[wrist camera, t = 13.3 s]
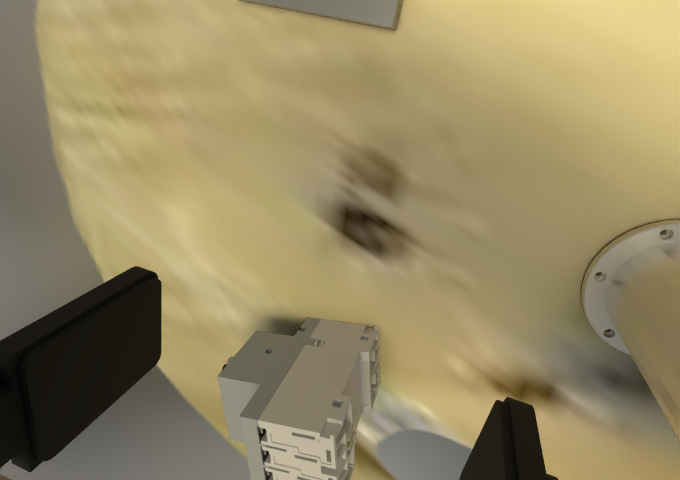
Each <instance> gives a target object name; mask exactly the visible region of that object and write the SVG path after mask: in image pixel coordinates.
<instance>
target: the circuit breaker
mask: <svg viewBox="0 0 680 480" xmlns="http://www.w3.org/2000/svg"><path fill="white" fill-rule="evenodd" d="M217 377H218V382H219V387H220V392H221V397H222V402H223V408H224V413H225V418H226V423H227V428H228V433H229V438H230V440H233V441H238V442H242V443H244V444H245V449H246V455H247V461H248V466H249V472H250V478H251V480H350V479H351V476H352V473H353V469H354V466H355V448H354V447H355V444H356V428H357V425H358V422H359V419H360V416H361V413H362V411H363V412H364V413H371V410H372V407H373V404H374V401H375V397H376V394H377V388H378V385H379V384H380V366H379V326H375V327H374V329H373V328H367V325H365V324H357V323H349V322H340V321H332V320H324V319H316V318H306V320H305V321H304V323H303V324H302V326H301V331H299V330H298V331H297V333H296V334H295V336H289V335H282V334H274V333H267V332H259V331H256V332H255V333H254V334H253V335H252V336H251V338H250V339H249V340H248V341H247V342H246V343H245V345H244V346H243V347H242V348H241V349H240V350H239V351H238V353H237V354H236V355H235V356H234V357H230V358H229V359H228V360H227V364H225V365H224V366H223V369H222V371H221V373H220V374H219V375H218V376H217Z"/></svg>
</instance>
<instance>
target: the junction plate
mask: <svg viewBox="0 0 680 480" xmlns="http://www.w3.org/2000/svg"><path fill="white" fill-rule="evenodd" d="M240 1H245V2H250V3H255V4H261V5H266V6H271V7H276V8H281V9H287V10H292V11H297V12H302V13H307V14H313V15H318V16H323V17H328V18H334V19H339V20H344V21H349V22H354V23H360V24H365V25H370V26H375V27H380V28H386V29H391V30H396V29H397V25H398V20H399V15H400V11H401V6H402V2H403V0H240Z"/></svg>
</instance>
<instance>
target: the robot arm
mask: <svg viewBox="0 0 680 480" xmlns="http://www.w3.org/2000/svg"><path fill="white" fill-rule="evenodd" d="M663 230H665V232H664V233H661V234H660V232H661V231H663ZM598 272H601V273H600V274H598V275H596V273H598ZM581 299H582V304H583V309H584V312H585V314H586V317H587V319H588V321H589V322H590V324H591V326H592V328H593V329H594V331H595V332H596V333H597V334H598V335H599V336H600V338H601V339H603V340H604V341H605V342H606V343H608V344H609V345H611V346H612V347H613V348H615V349H617V350H619V351H621V352H623V353H625V354H627V355H630V356H632V358H633V360H634V362H635V363H636V365H637V367H638V369H639V370H640V372H641V374H642V376H643V377H644V379H645V381H646V383H647V384H648V386H649V388H650V390H651V391H652V393H653V395H654V397H655V398H656V400H657V402H658V404H659V405H660V407H661V409H662V411H663V412H664V414H665V416H666V418H667V419H668V421H669V423H670V425H671V426H672V428H673V430H674V432H675V433H676V435H677V437H678V439H679V440H680V220H667V221H661V222H656V223H652V224H647V225H644V226H642V227H639V228H636V229H634V230H631V231H629V232H627V233H625V234H624V235H622V236H620V237H618V238H617V239H615V240H614V241H612V242H611V243H610V244H609V245H607V246H606V247H605V248H604V249H602V251H601V252H600V253H599V254H598V255H597V256H596V257H595V259H594V260H593V261H592V263H591V265H590V266H589V268H588V270H587V272H586V274H585V277H584V280H583V283H582V293H581ZM160 356H161V281H160V280H159V279H158V276H157V274H156V273H155V272H152V271H149V270H146V269H144V268H141V267H136V266H135V267H132V268H130V269H129V270H127V271H125V272H123V273H121V274H120V275H118V276H116V277H114V278H112V279H111V280H109V281H107V282H105V283H103V284H102V285H100V286H98V287H96V288H94V289H93V290H91V291H89V292H87V293H86V294H84V295H82V296H80V297H78V298H76V299H75V300H73V301H71V302H69V303H67V304H66V305H64V306H62V307H60V308H58V309H57V310H55V311H53V312H51V313H49V314H48V315H46V316H44V317H42V318H41V319H39V320H37V321H35V322H33V323H31V324H30V325H28V326H26V327H24V328H22V329H21V330H19V331H17V332H15V333H13V334H12V335H10V336H8V337H6V338H5V339H3V340H1V341H0V471H1V468H2V466H3V465H4V464H5V463H7V462H8V461H9V460H10V459H11V460H12V463H13V464H15V465H17V466H19V467H21V468H23V469H25V470H27V471H29V472H31V471H33V470H34V469H35V468H36V467H37V466H38V465H39V464H40V463H42V462H43V461H48V460H50V459H52V458H53V457H54V456H56V455H57V454H58V453H59V452H60V451H61V450H62V449H63V448H64V447H65V446H66V445H68V444H69V443H70V442H71V441H72V440H73V439H74V438H76V437H77V436H78V435H79V434H80V433H81V432H82V431H83V430H84V429H85V428H87V427H88V426H89V425H90V424H91V423H92V422H93V421H94V420H95V419H97V418H98V417H99V416H100V415H101V414H102V413H103V412H104V411H105V410H107V409H108V408H109V407H110V406H111V405H112V404H113V403H114V402H115V401H116V400H118V399H119V398H120V397H121V396H122V395H123V394H124V393H125V392H126V391H128V390H129V389H130V388H131V387H132V386H133V385H134V384H135V383H136V382H137V381H138V380H139V379H141V378H142V377H143V376H144V375H145V374H146V373H147V372H149V371H150V370H151V369H152V368H153V367H154V366H155V365H156V364H157V362H158V361H159V359H160ZM0 480H11V479H9V478H7V477H5V476H3V475H1V474H0ZM460 480H558V479H557V477H554V476H551V475H549V474H546V470H545V465H544V459H543V454H542V449H541V443H540V438H539V432H538V427H537V422H536V416H535V411H534V408H533V406H532V405H529V404H526V403H524V402H521V401H518V400H515V399H512V398H509V397H507V398H506V399H505V400H504V402H502V401H499V400H496V401H495V403H494V405H493V407H492V409H491V411H490V414H489V416H488V418H487V420H486V422H485V424H484V426H483V428H482V431H481V433H480V435H479V437H478V439H477V441H476V443H475V445H474V447H473V450H472V452H471V454H470V456H469V458H468V461H467V462H466V464H465V467H464V469H463V471H462V473H461V476H460Z"/></svg>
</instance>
